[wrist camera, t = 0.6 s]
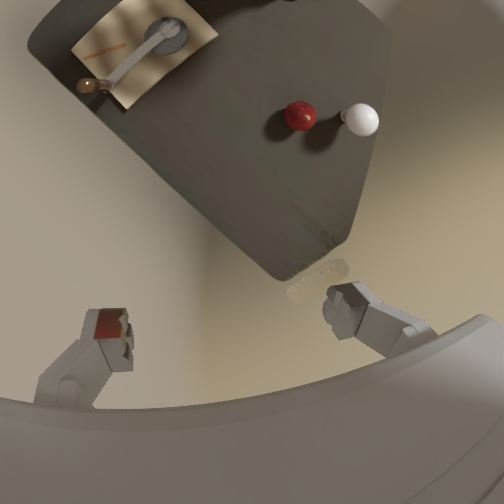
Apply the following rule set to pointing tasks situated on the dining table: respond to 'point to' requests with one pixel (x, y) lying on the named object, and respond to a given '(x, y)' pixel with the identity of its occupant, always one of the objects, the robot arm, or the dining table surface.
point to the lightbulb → (360, 119)
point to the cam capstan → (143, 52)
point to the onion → (300, 115)
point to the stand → (138, 44)
